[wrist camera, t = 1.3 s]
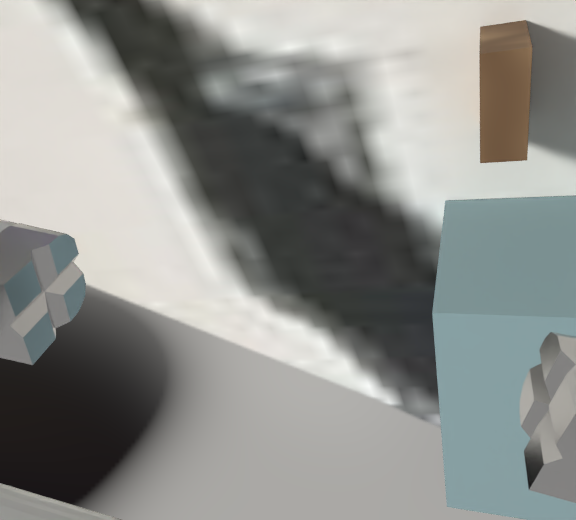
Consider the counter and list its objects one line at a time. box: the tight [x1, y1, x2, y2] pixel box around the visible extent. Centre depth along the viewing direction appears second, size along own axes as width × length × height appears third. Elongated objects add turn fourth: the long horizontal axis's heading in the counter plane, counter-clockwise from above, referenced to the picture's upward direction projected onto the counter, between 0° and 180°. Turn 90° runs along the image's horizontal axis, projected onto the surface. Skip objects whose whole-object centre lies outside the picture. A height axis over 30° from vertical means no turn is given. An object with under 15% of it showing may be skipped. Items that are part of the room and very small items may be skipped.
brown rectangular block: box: [480, 20, 532, 163], centre depth 25 cm, size 2×5×4 cm, turn 12°
